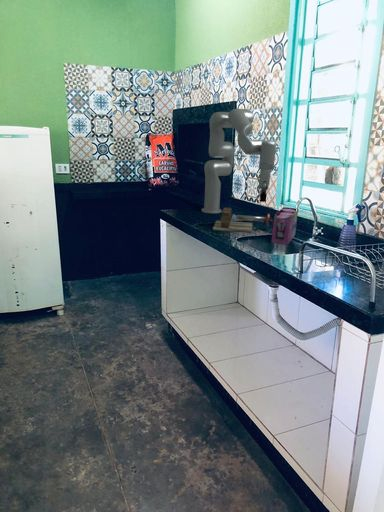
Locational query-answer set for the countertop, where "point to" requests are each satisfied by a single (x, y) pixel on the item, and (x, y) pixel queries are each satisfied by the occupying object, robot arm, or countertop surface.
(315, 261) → the countertop surface
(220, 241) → the countertop surface
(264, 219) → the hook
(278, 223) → the gum box
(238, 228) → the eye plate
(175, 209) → the countertop surface
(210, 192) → the robot arm
